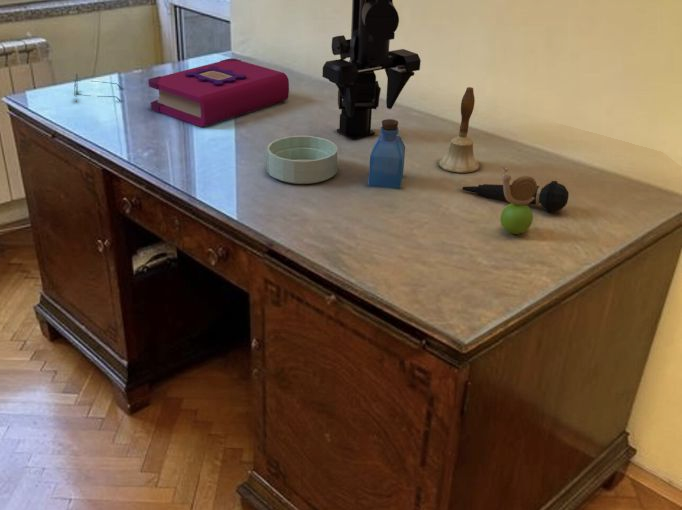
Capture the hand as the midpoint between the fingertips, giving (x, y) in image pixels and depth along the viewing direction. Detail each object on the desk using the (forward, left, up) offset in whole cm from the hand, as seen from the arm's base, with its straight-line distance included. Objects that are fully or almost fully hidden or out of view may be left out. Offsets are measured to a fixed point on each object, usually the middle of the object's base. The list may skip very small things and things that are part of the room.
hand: (369, 112), depth 147 cm
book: (+3, -56, -14) cm, 58 cm away
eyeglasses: (+26, -79, -14) cm, 85 cm away
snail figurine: (-8, +33, -14) cm, 36 cm away
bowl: (+9, -10, -13) cm, 19 cm away
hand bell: (-21, +5, -14) cm, 25 cm away
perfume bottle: (-3, +3, -14) cm, 14 cm away
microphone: (-18, +24, -14) cm, 32 cm away
